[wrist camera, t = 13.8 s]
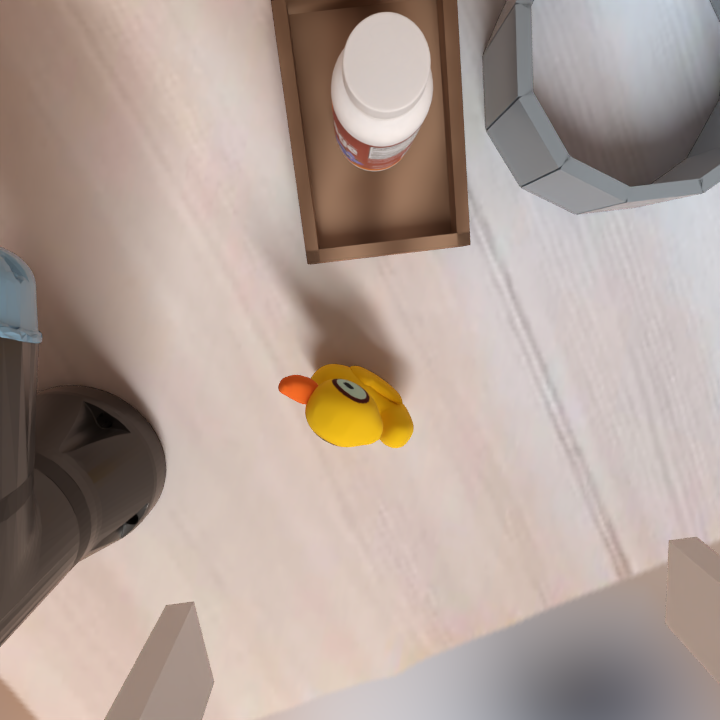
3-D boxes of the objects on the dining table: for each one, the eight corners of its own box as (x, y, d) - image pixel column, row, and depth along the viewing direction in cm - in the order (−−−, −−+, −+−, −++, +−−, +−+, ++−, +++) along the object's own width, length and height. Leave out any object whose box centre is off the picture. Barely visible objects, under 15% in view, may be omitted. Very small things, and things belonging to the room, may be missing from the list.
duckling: (280, 383, 37) (256, 423, 28) (308, 332, 36) (294, 355, 27) (387, 440, 39) (400, 498, 29) (417, 393, 38) (441, 436, 28)
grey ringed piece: (489, 224, 35) (521, 214, 29) (477, -57, 31) (511, -142, 24) (724, 197, 35) (807, 181, 29) (745, -88, 31) (849, -182, 24)
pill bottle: (325, 98, 32) (313, 10, 21) (403, 77, 32) (431, -23, 21) (346, 182, 33) (344, 140, 22) (420, 162, 33) (455, 109, 22)
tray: (310, 264, 35) (307, 263, 33) (275, 7, 31) (268, -16, 29) (461, 246, 35) (470, 244, 33) (446, -13, 31) (454, -38, 29)
